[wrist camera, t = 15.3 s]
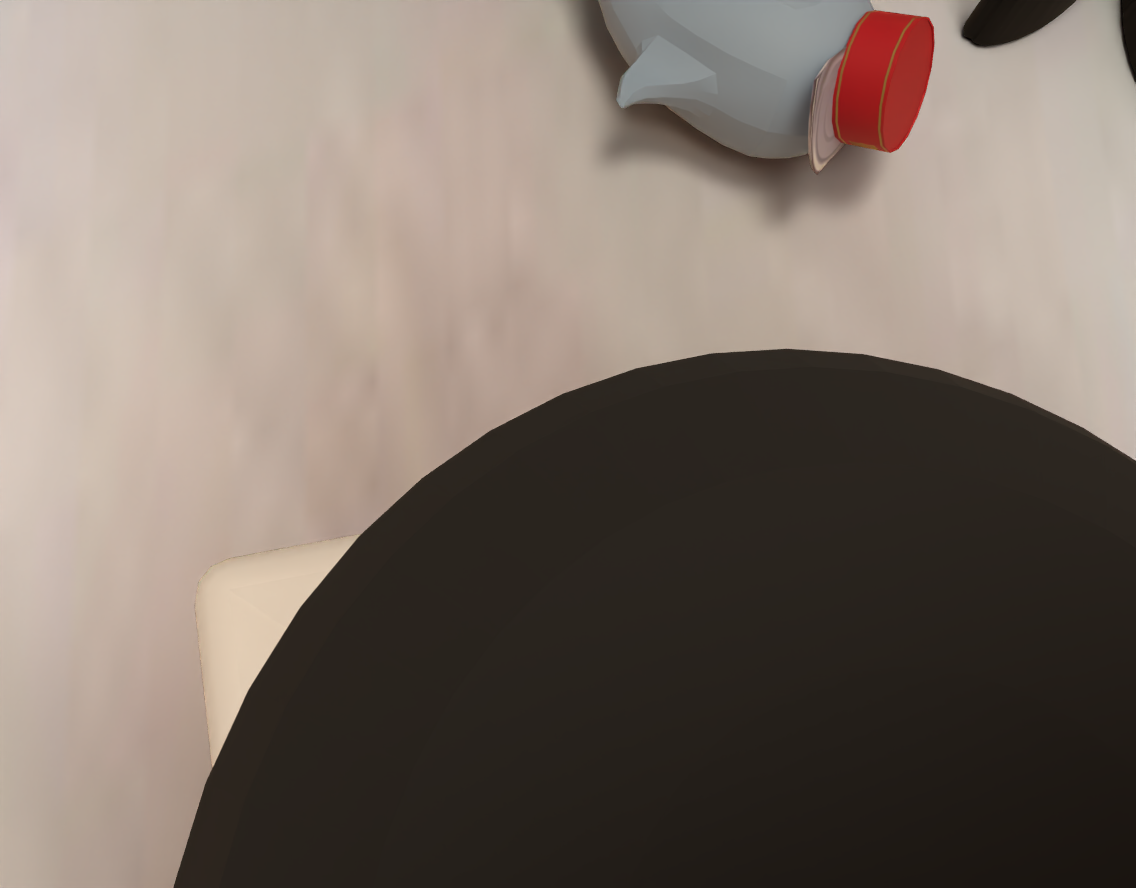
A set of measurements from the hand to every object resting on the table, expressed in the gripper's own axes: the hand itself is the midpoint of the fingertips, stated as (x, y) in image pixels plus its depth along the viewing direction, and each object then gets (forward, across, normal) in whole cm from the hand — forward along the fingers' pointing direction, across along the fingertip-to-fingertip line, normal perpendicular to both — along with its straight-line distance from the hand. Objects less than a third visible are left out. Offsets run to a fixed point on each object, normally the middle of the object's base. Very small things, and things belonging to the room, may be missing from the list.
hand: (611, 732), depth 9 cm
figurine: (+14, -6, -6) cm, 17 cm away
